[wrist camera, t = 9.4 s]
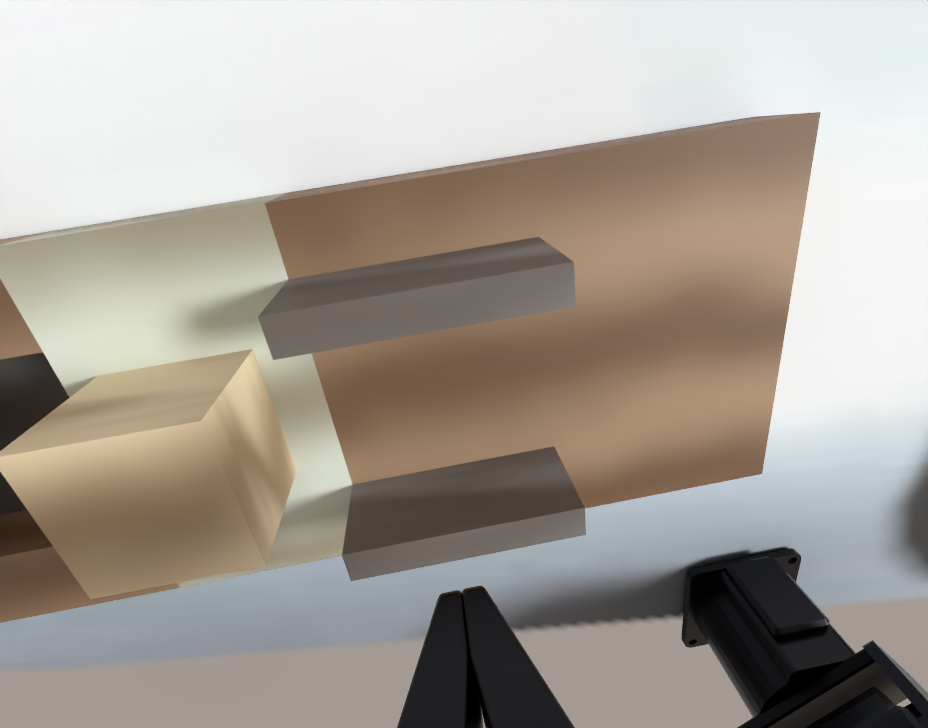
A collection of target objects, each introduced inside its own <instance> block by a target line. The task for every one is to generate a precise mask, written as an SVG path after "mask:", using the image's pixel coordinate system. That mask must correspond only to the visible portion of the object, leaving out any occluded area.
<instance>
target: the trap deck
mask: <svg viewBox="0 0 928 728" xmlns="http://www.w3.org/2000/svg"><path fill="white" fill-rule="evenodd" d="M819 118H820V112H819V113H804V114H789V115H774V116H759V117H751V118H745V119H739V120H732V121H726V122H720V123H714V124H708V125H702V126H696V127H689V128H683V129H677V130H671V131H665V132H659V133H653V134H646V135H640V136H634V137H628V138H622V139H616V140H610V141H603V142H597V143H591V144H585V145H579V146H573V147H567V148H561V149H554V150H548V151H542V152H536V153H530V154H524V155H518V156H511V157H505V158H499V159H493V160H487V161H481V162H475V163H468V164H462V165H456V166H450V167H444V168H438V169H432V170H425V171H419V172H413V173H407V174H401V175H395V176H389V177H382V178H376V179H370V180H364V181H358V182H352V183H346V184H339V185H333V186H327V187H321V188H315V189H309V190H303V191H296V192H290V193H284V194H278V195H272V196H266V197H260V198H254V199H247V200H241V201H235V202H229V203H223V204H217V205H211V206H204V207H198V208H192V209H186V210H180V211H174V212H168V213H161V214H155V215H149V216H143V217H137V218H131V219H125V220H118V221H112V222H106V223H100V224H94V225H88V226H82V227H75V228H69V229H63V230H57V231H51V232H45V233H39V234H32V235H26V236H20V237H14V238H8V239H2V240H0V451H1V450H3V449H4V448H5V447H6V446H8V445H9V444H10V443H12V442H13V441H14V440H16V439H17V438H18V437H19V436H21V435H22V434H23V433H25V432H26V431H27V430H29V429H30V428H31V427H32V426H34V425H35V424H36V423H38V422H39V421H40V420H41V419H43V418H44V417H45V416H47V415H48V414H49V413H51V412H52V411H53V410H54V409H56V408H57V407H58V406H60V405H61V404H62V403H64V402H65V401H66V400H67V399H69V398H70V397H71V396H73V395H74V394H75V393H76V392H78V391H79V390H80V389H82V388H83V387H84V386H86V385H87V384H88V383H89V382H91V381H92V380H93V379H95V378H96V377H97V376H99V375H104V374H110V373H116V372H122V371H127V370H133V369H139V368H145V367H151V366H156V365H162V364H168V363H174V362H180V361H185V360H191V359H197V358H203V357H209V356H214V355H220V354H226V353H232V352H238V351H243V350H249V349H253V350H254V353H255V356H256V358H257V361H258V364H259V367H260V369H261V372H262V375H263V378H264V380H265V383H266V386H267V389H268V391H269V394H270V397H271V399H272V402H273V405H274V408H275V410H276V413H277V416H278V419H279V421H280V424H281V427H282V430H283V432H284V435H285V438H286V441H287V443H288V446H289V449H290V452H291V454H292V457H293V460H294V463H295V465H296V468H297V471H296V474H295V477H294V481H293V484H292V487H291V490H290V493H289V496H288V499H287V502H286V505H285V508H284V512H283V515H282V518H281V521H280V524H279V527H278V530H277V533H276V536H275V539H274V543H273V546H272V549H271V552H270V555H269V558H268V561H267V564H266V566H262V567H257V568H251V569H246V570H241V571H236V572H230V573H225V574H220V575H215V576H210V577H204V578H199V579H194V580H189V581H184V582H178V583H173V584H168V585H163V586H158V587H152V588H147V589H142V590H137V591H132V592H126V593H121V594H116V595H111V596H106V597H100V598H95V599H90V598H89V597H88V595H87V594H86V592H85V591H84V589H83V588H82V587H81V585H80V584H79V582H78V581H77V580H76V578H75V577H74V575H73V574H72V572H71V571H70V570H69V568H68V567H67V565H66V564H65V563H64V561H63V560H62V558H61V557H60V555H59V554H58V553H57V551H56V550H55V548H54V547H53V546H52V544H51V543H50V541H49V540H48V538H47V537H46V536H45V534H44V533H43V531H42V530H41V528H40V527H39V526H38V524H37V523H36V521H35V520H34V519H33V517H32V516H31V514H30V513H29V511H28V510H27V509H26V507H25V506H24V504H23V503H22V502H21V500H20V499H19V497H18V496H17V494H16V493H15V492H14V490H13V489H12V487H11V486H10V485H9V483H8V482H7V480H6V479H5V477H4V476H3V475H2V473H1V472H0V623H1V622H6V621H11V620H16V619H21V618H26V617H32V616H37V615H42V614H47V613H52V612H57V611H62V610H67V609H72V608H78V607H83V606H88V605H93V604H98V603H103V602H108V601H113V600H119V599H124V598H129V597H134V596H139V595H144V594H149V593H154V592H159V591H165V590H170V589H175V588H180V587H185V586H190V585H195V584H200V583H206V582H211V581H216V580H221V579H226V578H231V577H236V576H241V575H246V574H252V573H257V572H262V571H267V570H272V569H277V568H282V567H287V566H292V565H298V564H303V563H308V562H313V561H318V560H323V559H328V558H333V557H339V556H342V557H343V559H344V562H345V565H346V568H347V571H348V574H349V576H350V579H351V581H354V580H359V579H364V578H369V577H374V576H379V575H384V574H389V573H394V572H400V571H405V570H410V569H415V568H420V567H425V566H430V565H435V564H440V563H445V562H450V561H455V560H460V559H465V558H470V557H475V556H480V555H485V554H491V553H496V552H501V551H506V550H511V549H516V548H521V547H526V546H531V545H536V544H541V543H546V542H551V541H556V540H561V539H566V538H571V537H576V536H582V535H586V528H585V508H589V507H594V506H599V505H605V504H610V503H615V502H620V501H625V500H630V499H635V498H640V497H646V496H651V495H656V494H661V493H666V492H671V491H676V490H681V489H686V488H692V487H697V486H702V485H707V484H712V483H717V482H722V481H727V480H733V479H738V478H743V477H748V476H753V475H758V474H762V470H763V464H764V458H765V451H766V445H767V439H768V433H769V427H770V421H771V414H772V408H773V402H774V396H775V390H776V383H777V377H778V371H779V365H780V359H781V353H782V346H783V340H784V334H785V328H786V322H787V315H788V309H789V303H790V297H791V291H792V285H793V278H794V272H795V266H796V260H797V254H798V247H799V241H800V235H801V229H802V223H803V217H804V210H805V204H806V198H807V192H808V186H809V180H810V173H811V167H812V161H813V155H814V149H815V142H816V136H817V130H818V124H819Z"/></svg>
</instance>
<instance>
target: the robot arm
mask: <svg viewBox="0 0 928 728" xmlns="http://www.w3.org/2000/svg"><path fill="white" fill-rule="evenodd" d="M800 562H801V556H800V555H799V554H798V553H797V552H796V551H795V549H785V550H780V551H775V552H771V553H766V554H761V555H756V556H751V557H746V558H741V559H736V560H731V561H726V562H721V563H716V564H711V565H706V566H701V567H697V568H693V569H691V570H690V571H689V572H688V574H687V579H686V591H685V603H684V614H683V626H682V641H683V642H684V644H685V646H686V647H696V646H700V645H705V644H709V645H710V647H711V648H712V650H713V652H714V654H715V655H716V657H717V658H718V660H719V662H720V663H721V665H722V667H723V668H724V670H725V672H726V673H727V675H728V677H729V678H730V680H731V682H732V683H733V685H734V686H735V688H736V690H737V691H738V693H739V695H740V696H741V698H742V700H743V701H744V703H745V704H746V706H747V708H748V709H749V711H750V713H751V715H752V716H753V718H752V719H750V720H749V721H747V722H746V723H744V724H742V725H741V726H739V727H738V728H928V693H927V692H926V691H925V690H924V689H923V688H922V687H921V686H920V685H919V684H918V683H917V682H916V680H915V679H913V677H911V675H910V674H909V673H907V672H906V671H905V670H904V669H903V668H902V667H901V666H900V665H899V664H898V663H897V662H896V661H894V660H893V659H892V658H891V657H890V656H889V655H888V654H887V653H886V652H885V651H884V650H883V649H882V648H880V647H879V646H878V645H877V644H876V643H875V642H874V641H873V640H872V641H870V642H869V643H868V644H866V645H864V646H863V647H864V649H863V650H861V651H859V652H858V653H855V652H854V651H853V650H852V648H851V647H850V646H849V645H848V644H847V643H846V642H845V641H844V639H843V638H842V637H841V636H840V635H839V634H838V633H837V631H836V630H835V629H834V628H833V627H832V626H831V625H830V624H829V620H828V618H827V617H826V616H825V615H824V614H823V613H822V612H821V610H820V609H819V608H818V607H817V606H816V605H815V604H814V602H813V601H812V600H811V599H810V598H809V597H808V596H807V595H806V593H805V592H804V591H803V590H802V589H801V588H800V587H799V586H798V584H797V583H796V579H797V575H798V570H799V566H800ZM907 698H908V699H909V700H910V701H911V704H909V705H907V706H906V707H900V706H896V705H897V704H898V703H900V702H902V701H903V700H905V699H907ZM481 709H482V710H481ZM482 714H483V718H484V723H485V727H486V728H575V727H574V726H573V724H572V723H571V721H570V720H569V718H568V716H567V715H566V713H565V712H564V710H563V709H562V707H561V706H560V704H559V703H558V701H557V699H556V698H555V696H554V695H553V693H552V692H551V690H550V689H549V687H548V685H547V684H546V682H545V681H544V679H543V678H542V676H541V675H540V673H539V671H538V670H537V668H536V667H535V665H534V664H533V662H532V661H531V659H530V657H529V656H528V655H527V653H526V651H525V650H524V649H523V647H522V645H521V644H520V642H519V640H518V639H517V637H516V636H515V634H514V633H513V631H512V630H511V628H510V626H509V625H508V623H507V622H506V620H505V619H504V617H503V616H502V614H501V612H500V611H499V609H498V608H497V606H496V605H495V603H494V602H493V600H492V598H491V597H490V595H489V594H488V592H487V591H486V589H485V588H484V587H483V586H476V587H471V588H466V589H464V590H463V592H462V593H461V591H458V590H457V591H452V592H447V593H442V594H441V595H440V596H439V598H438V600H437V604H436V607H435V610H434V613H433V616H432V619H431V622H430V626H429V629H428V632H427V635H426V638H425V641H424V645H423V648H422V651H421V654H420V657H419V660H418V664H417V667H416V670H415V673H414V676H413V679H412V682H411V686H410V689H409V692H408V695H407V698H406V701H405V705H404V708H403V711H402V714H401V717H400V721H399V724H398V727H397V728H483V718H482Z"/></svg>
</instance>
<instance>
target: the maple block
mask: <svg viewBox="0 0 928 728" xmlns="http://www.w3.org/2000/svg"><path fill="white" fill-rule="evenodd" d="M296 471H297V468H296V465H295V463H294V460H293V457H292V454H291V452H290V449H289V446H288V443H287V441H286V438H285V435H284V432H283V430H282V427H281V424H280V421H279V419H278V416H277V413H276V410H275V408H274V405H273V402H272V399H271V397H270V394H269V391H268V389H267V386H266V383H265V380H264V378H263V375H262V372H261V369H260V367H259V364H258V361H257V358H256V356H255V353H254V350H253V349H249V350H243V351H238V352H232V353H226V354H220V355H214V356H209V357H203V358H197V359H191V360H185V361H180V362H174V363H168V364H162V365H156V366H151V367H145V368H139V369H133V370H127V371H122V372H116V373H110V374H104V375H99V376H97V377H96V378H95V379H93V380H92V381H91V382H89V383H88V384H87V385H86V386H84V387H83V388H82V389H80V390H79V391H78V392H76V393H75V394H74V395H73V396H71V397H70V398H69V399H67V400H66V401H65V402H64V403H62V404H61V405H60V406H58V407H57V408H56V409H54V410H53V411H52V412H51V413H49V414H48V415H47V416H45V417H44V418H43V419H41V420H40V421H39V422H38V423H36V424H35V425H34V426H32V427H31V428H30V429H29V430H27V431H26V432H25V433H23V434H22V435H21V436H19V437H18V438H17V439H16V440H14V441H13V442H12V443H10V444H9V445H8V446H6V447H5V448H4V449H3V450H1V451H0V472H1V473H2V475H3V476H4V477H5V479H6V480H7V482H8V483H9V485H10V486H11V487H12V489H13V490H14V492H15V493H16V494H17V496H18V497H19V499H20V500H21V502H22V503H23V504H24V506H25V507H26V509H27V510H28V511H29V513H30V514H31V516H32V517H33V519H34V520H35V521H36V523H37V524H38V526H39V527H40V528H41V530H42V531H43V533H44V534H45V536H46V537H47V538H48V540H49V541H50V543H51V544H52V546H53V547H54V548H55V550H56V551H57V553H58V554H59V555H60V557H61V558H62V560H63V561H64V563H65V564H66V565H67V567H68V568H69V570H70V571H71V572H72V574H73V575H74V577H75V578H76V580H77V581H78V582H79V584H80V585H81V587H82V588H83V589H84V591H85V592H86V594H87V595H88V597H89V598H90V599H95V598H100V597H106V596H111V595H116V594H121V593H126V592H132V591H137V590H142V589H147V588H152V587H158V586H163V585H168V584H173V583H178V582H184V581H189V580H194V579H199V578H204V577H210V576H215V575H220V574H225V573H230V572H236V571H241V570H246V569H251V568H257V567H262V566H266V564H267V561H268V558H269V555H270V552H271V549H272V546H273V543H274V539H275V536H276V533H277V530H278V527H279V524H280V521H281V518H282V515H283V512H284V508H285V505H286V502H287V499H288V496H289V493H290V490H291V487H292V484H293V481H294V477H295V474H296Z"/></svg>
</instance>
